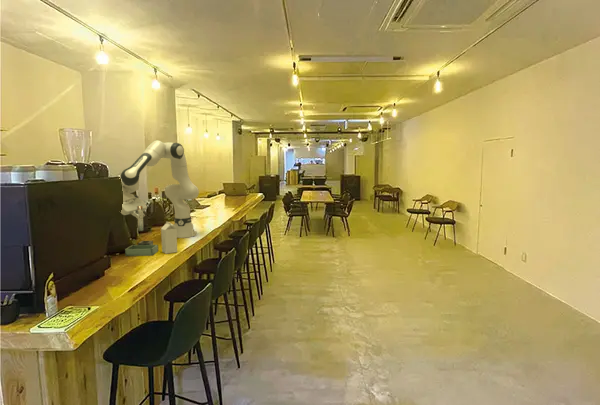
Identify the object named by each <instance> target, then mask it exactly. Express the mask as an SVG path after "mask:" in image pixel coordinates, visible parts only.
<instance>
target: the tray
mask: <svg viewBox="0 0 600 405" xmlns="http://www.w3.org/2000/svg"><path fill="white" fill-rule="evenodd" d="M158 252H159V244H153V245H138V244H131V245H130V246H128V247H127V248H125V249H124V253H125V254H124V255H125V257H139V256H140V257H143V256H144V257H146V256H148V257H149V256H154V255H155V254H157V253H158Z"/></svg>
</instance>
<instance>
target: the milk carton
mask: <svg viewBox="0 0 600 405" xmlns="http://www.w3.org/2000/svg"><path fill="white" fill-rule="evenodd" d="M173 226H174V223H171V222H170V221H165V223H164V225H163V226H161V228H160V232H161V251H162V253H163V254H166V255H167V254H174V253H178V238H177V231H176V228H175V227H173Z"/></svg>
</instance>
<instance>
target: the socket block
mask: <svg viewBox="0 0 600 405" xmlns="http://www.w3.org/2000/svg"><path fill="white" fill-rule="evenodd" d="M137 245H154V241H153V240H141V241H139V242H138V243H137Z"/></svg>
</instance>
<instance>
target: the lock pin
mask: <svg viewBox="0 0 600 405" xmlns="http://www.w3.org/2000/svg"><path fill="white" fill-rule="evenodd" d="M136 214H139V215H140V217H139V218H137V231H139V232H143V231H144V217H143V214H144V211H143V208H142V206H137V213H136Z"/></svg>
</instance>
